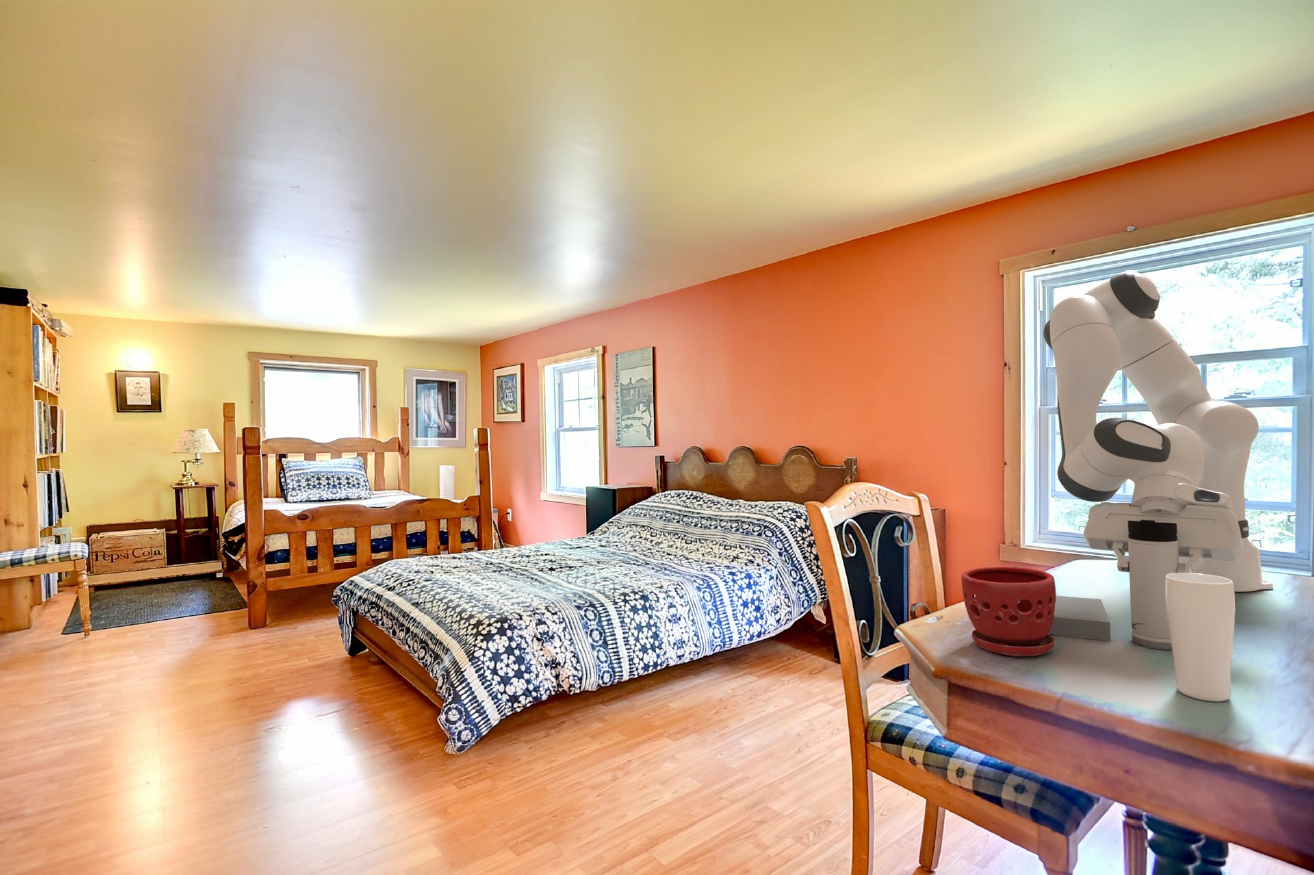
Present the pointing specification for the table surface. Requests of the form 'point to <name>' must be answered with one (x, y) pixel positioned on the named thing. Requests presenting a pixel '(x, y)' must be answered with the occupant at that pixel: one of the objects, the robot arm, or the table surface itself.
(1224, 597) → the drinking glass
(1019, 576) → the plant pot
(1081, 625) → the gray rectangular block
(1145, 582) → the travel mug
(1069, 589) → the table surface
